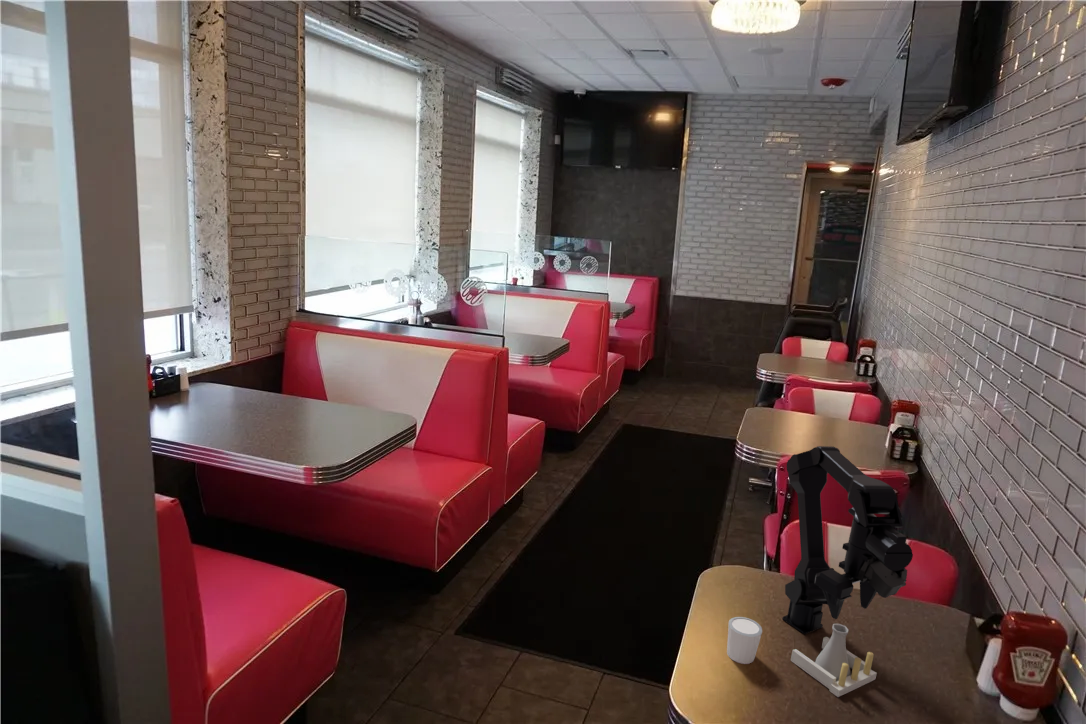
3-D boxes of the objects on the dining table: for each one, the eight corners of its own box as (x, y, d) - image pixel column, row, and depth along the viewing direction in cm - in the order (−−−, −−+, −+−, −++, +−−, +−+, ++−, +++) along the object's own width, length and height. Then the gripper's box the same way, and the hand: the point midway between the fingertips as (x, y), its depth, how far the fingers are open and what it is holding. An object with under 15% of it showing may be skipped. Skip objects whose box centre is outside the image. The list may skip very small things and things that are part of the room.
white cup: (759, 651, 154) (764, 622, 153) (754, 670, 148) (759, 640, 146) (727, 641, 157) (732, 612, 155) (720, 658, 151) (725, 629, 149)
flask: (853, 685, 146) (863, 642, 144) (816, 678, 147) (825, 635, 145) (846, 663, 153) (855, 621, 151) (810, 656, 154) (819, 614, 152)
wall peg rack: (788, 661, 152) (793, 636, 150) (826, 645, 158) (830, 621, 157) (837, 697, 142) (843, 670, 141) (875, 679, 148) (881, 653, 147)
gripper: (869, 573, 133) (853, 647, 137) (930, 554, 142) (913, 623, 146) (820, 545, 142) (806, 615, 146) (879, 528, 151) (865, 594, 155)
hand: (849, 612), depth 148 cm, fingers open, 9 cm apart
